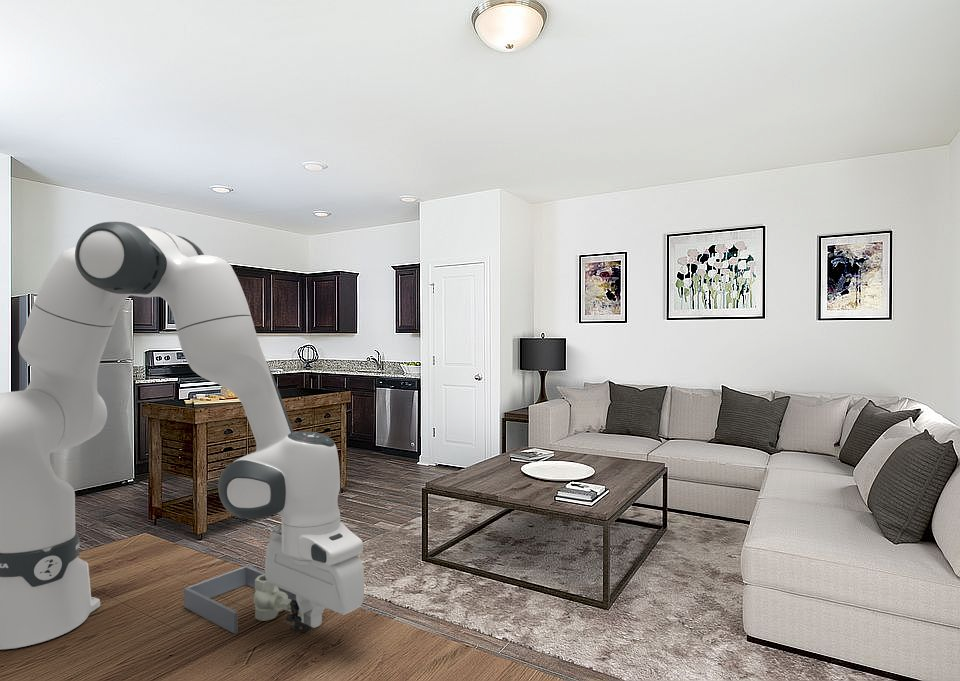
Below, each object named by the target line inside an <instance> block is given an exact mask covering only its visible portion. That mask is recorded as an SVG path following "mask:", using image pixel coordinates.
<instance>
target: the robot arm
mask: <svg viewBox="0 0 960 681" xmlns="http://www.w3.org/2000/svg"><path fill="white" fill-rule="evenodd" d="M243 290H244V289H243V288H242V286H241V283H240V281H239V279H238V276H237V274H236V273H235V271H234V269H233V267H232V265H231V264H230V263H229V262H228V261H227V260H225V259H224V258H221V257H219V256H216V255H210V254H205V253H204V252H203V250H202V249H201V248H200V247H199V246H198V245H197V244H196V243H195V242H193V241H191V240H189V239H188V238H186V237H184V236H180V235H176V234H174V233H171V232H169V231H166V230H162V229H160V228H156V227H150V226H148V227H147V226H143V225H135V224H131V223H130V222H125V221H103V222H100V223H96V224H94V225H92V226H90V227H88V228H87V229H86V230H85V231H84V232H82V234H81V235H80V237H79V238H78V240H77V243H76V245H75V246H73V247H69V248H67V249H65V250H64V251H62V253H61V254H60V255H59V256H58V258H57V259H56V260H55V262H54V264H53V265H52V266H51V268H50V270H49V271H48V273H47V274H46V277H45V279H44V280H43V282H42V284H41V286H40V289H39V291H38V293H37V295H36V298H35V300H34V303H33V305H32V307H31V310H30V313H29V316H28V318H27V321H26V324H25V326H24V328H23V331H22V334H21V336H20V339H19V341H18V347H17V348H18V352H19V355H20V356H21V358H22V359H23V360H24V361H25V362H26V363H27V364H29V366H30V367H31V376H30V377H31V378H30V382H29V384H28V386H27V387H26V388H25V389H24V390H17V391H16V390H15V391H8V392H7V391H6V392H0V650H10V649H18V648H22V647H23V648H24V647H27V646H31V645H32V646H33V645H37V644H40V643H43V642H46V641H50V640H52V639H55V638H57V637H60V636H62V635H64V634H67V633H69V632H71V631H72V630H74V629H76V628H77V627H79V626H80V625H82V624H83V623H84V622H85V621H86V620H87V619H88V617H89V615H90V614H91V613H92V612H94V611H95V610H97V609H98V608H100V607H101V605H102V604H101V601H100V598H97V597H94V596H92V593H91V591H92V590H91V580H90V567H89V563H88V562H87V561H85V560H84V559H81V558H80V557H79V556H80V555H79V554H80V545H81V544H80V541H81V540H80V537H79V533H78V532H76V493H75V492H76V491H75V489H74V486H72V484H70V483H69V482H67V481H65V480H64V479H60V478H58V476H57V475H56V474H55V472H54V468H53V466H52V463H51V459H50V457H51V456H50V455H51V454H53V453H56V452H61V451H63V450H68V449H71V448H74V447H77V446H80V445H82V444H83V443H85V442H87V441H88V440H90V439H92V438H94V437H95V436H97V435H99V433H101V432H102V430H103V429H104V427H105V426H106V422H107V420H108V408H107V405H106V403H105V400H104V399H103V397H102V396H101V395H100V393H99V392H98V374H99V373H98V372H99V367H100V364H101V359H102V357H103V354H104V351H105V349H106V345H107V343H108V341H109V337H110V335H111V333H112V329H113V327H114V325H115V321H116V319H117V316H118V313H119V311H120V309H121V306H122V304H123V303H124V302H125V300H126V299H127V298H129V297H131V296H134V297H140V298H141V297H142V298H153V297H159V298H162V299H163V300H164V301H165V302H166V303H167V304H168V306H169V308H170V311H171V313H172V317H173V320H174V324H175V325H174V326H175V330H176V333H177V337H178V341H179V345H180V347H181V351H182V354H183V357H184V358H185V360H186V361H187V364H188V366H189V368H190V369H191V370H192V372H194V373H196V374H197V375H198V376H200V377H201V378H202V379H205V380H207V381H209V382H212V383H215V384H217V385H219V386H222V387H223V388H225V389H227V390H228V391H229V392H231V393H232V394H233V395H235V397H237V399H238V400H239V402H240V403H241V406H242V407H243V409H244V412H245V415H246V418H247V421H248V424H249V426H250V429H251V432H252V434H253V437H254V440H255V443H256V444H255V445H256V450H255V451H254V452H251V453H248V454H246V455H243V456H242V457H239V458H237V459H236V460H234V461H232V462H231V463H230V464H228V465H227V466H226V467H225V468H224V469H223V471H222V472H221V474H220V476H219V480H218V486H217V487H218V488H217V490H218V491H217V492H218V495H219V499H220V502H221V503H222V505H223V507H224V509H226V511H228V512H229V513H230V514H231V515H233V516H234V517H236V518H239V519H257V518H262V517H263V518H264V517H269V516H273V515H276V514H277V515H279V516H280V518H281V525H277V526H275V527H273V529H272V530H271V532H270V533H269V542H268V543H267V547H266V552H265V562H264V573H265V577H266V580H267V582H268V583H269V584H272V585H274V586H277V587H279V588H281V589H284V590H286V591H288V592H291V593H293V594H295V595H296V601H297V603H298V606H299V608H300V611H301V619H302V623H304V624H307V625H309V627H311V628H314V629H315V628H317V627H319V626H321V625H322V622H323V613H324V611H325V609H328V610H330V611H332V612H335V613H338V614H340V615H342V616H343V615H344V616H346V615H348V614H350V613H351V612H354V611H356V610H357V609H359V608H360V607H361V605H362V604H363V602H364V598H365V572H364V570H365V569H364V565H363V561H362V559H361V558H360V556H359V555H360V554H362V553H363V551H364V542H363V540H362V539H361V538H360V537H359V536H358V535H356V534H355V533H354V532H353V531H351V530H350V529H349V528H348V527H347V526H346V525H345V524H344V523H343V522H342V521H341V511H340V508H339V504H338V502H339V501H338V499H339V498H338V497H339V495H340V490H341V476H340V475H341V473H340V471H341V470H340V461H339V454H338V448H337V445H336V443H335V442H334V440H333V439H332V438H331V437H329V436H327V435H325V434H323V433H320V432H315V431H302V430H301V431H294V429H293V427H292V424H291V422H290V418H289V416H288V413H287V410H286V407H285V404H284V401H283V399H282V397H281V396H282V395H281V393H280V391H279V390H280V389H279V388H278V385H277V382H276V380H275V376H274V375H273V372H272V370H271V368H270V366H269V364H268V361H267V360H266V357H265V355H264V352H263V351H262V350H263V349H262V348H261V345H260V341H259V338H258V336H257V335H258V334H257V332H256V329H255V324H254V320H253V318H252V314H251V311H250V308H249V307H250V306H249V304H248V301H247V298H246V296H245V293H244V291H243Z"/></svg>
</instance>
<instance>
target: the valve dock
mask: <svg viewBox="0 0 960 681" xmlns="http://www.w3.org/2000/svg"><path fill="white" fill-rule="evenodd" d="M263 574H265V571H261V570H258V569H256V568H254V567H251V566H249V565H245V566H242V567H238V568H237V569H234V570H230V571H228V572H226V573H222V574H220V575H217V576H214V577H211V578H209V579H206V580H203V581H200V582H198V583H195V584H193V585H189V586H187V587H184V588H183V608H185V609H187V610H189V611H190V612H193V613H194V614H196V615H198V616H200V617H202V618H203V619H205V620H208V621H209V622H212V624H215V625H217V626H219V627H221V628H223V629H224V630H226V631H229V633H232V634H233V635H235V634H237V633H238V632H239V630H238V629H239V628H238V627H239V625H238V623H239V622H238V619H239V618H238V617H239V616H238V615H239V614H238V611H236V610H234V609H233V608H230V607H228V606H227V605H225V604H222V603H220V602H218V601H216V600H214V599H213V598H215V597H218V596H221V595H223V594H225V593H227V592H231V591H233V590H236V589H238V588H240V587H243V586H246V585H247V586H249V587H250V588H253V589H255V579H256V578H257V577H258V576H260V575H263ZM278 589H279V591H281V592H284V593H286V594H287V596H288V599H291V600H293V599H295V600H296V595H295V594H293V593H291V592H288V591H286V590H284V589H281V588H279V587H278Z"/></svg>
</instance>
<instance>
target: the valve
mask: <svg viewBox="0 0 960 681" xmlns="http://www.w3.org/2000/svg"><path fill="white" fill-rule="evenodd" d="M253 604H254V606H255V609H254V619H256V620H257V621H261V622H264V621H265V622H267V621H270V620H274V619H275V618H277V616H278V615H279V612H282V611H283V610H284V611H287V612H291V613H288V614H287V615H286V616H285V621H286V622H289V623H294V624H293V625H290V627H289V628H290V629H289V630H290V632H293V633H298V632H299V631H301V632H304V633H307V632H308V631H309V630H310V626H309V625H307V624H304V623H302V618H301V611H300V608H299V606H298V603H297V601H296V600H295V599H293V600H291V599H288V596H287V594H286V593H284V592H281V591H279V589H278V587H277V586H274V585H272V584H269V583H268V582H267V580H266V577H265V574H263V575H260V576H258V577H257V578H256V579H255V588H254V594H253Z"/></svg>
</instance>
